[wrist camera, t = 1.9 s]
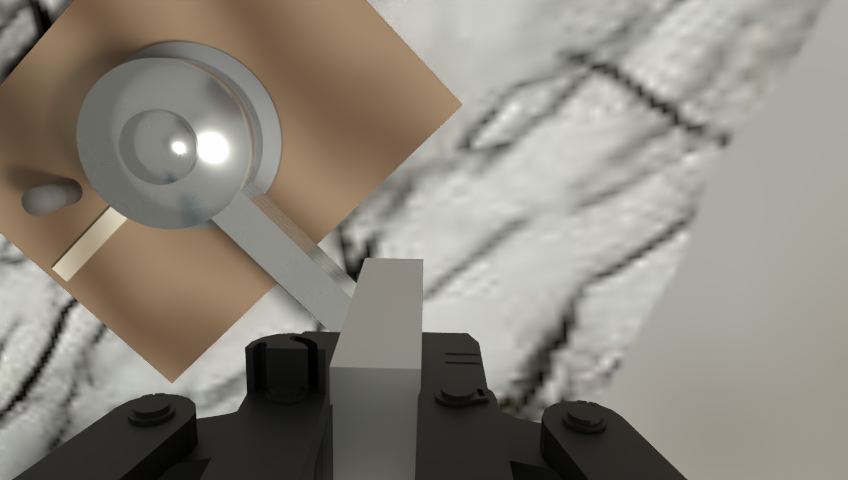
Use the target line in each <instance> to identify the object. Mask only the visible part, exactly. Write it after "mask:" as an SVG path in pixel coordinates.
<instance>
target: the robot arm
mask: <svg viewBox="0 0 848 480" xmlns="http://www.w3.org/2000/svg"><path fill="white" fill-rule="evenodd" d="M422 300H423V259H386V258H365V261H364V264H363V267H362V270H361V273H360V276H359V279H358V282H357V285H356V288H355V291H354V294H353V297H352V300H351V303H350V306H349V309H348V312H347V315H346V318H345V321H344V324H343V327H342V330H341V332H312V331H305V332H303V333H302V334H296V333H288V334H276V335H271V336H266V337H262V338H260V339H257V340H255V341H252V342H251V343H250V344H249V345H248V346H246V347H245V354H246V376H247V395H246V397H245V398H244V400H243V402H242V404H241V406H240V407H239V409H238V411H237V412H234V413H230V414H225V415H220V416H213V417H206V418H199V419H196V406H195V403H194V402H193V401H191V400H190V399H189V398H186V397H183V396H179V395H172V394H165V393H156V394H155V395H153V394H149V395H144V396H142V397H141V398H137V399H134V400H131V401H128V402H126V403H124V404H122V405H120V406H118V407H116V408H115V409H113V410H112V411H111V412H109V413H108V414H106V415H105V416H103V417H102V418H100V419H99V420H98V421H96V422H95V423H93V424H92V425H90V426H89V427H88V428H86V429H85V430H83V431H82V432H80V433H79V434H77V435H76V436H75V437H73V438H72V439H70V440H69V441H67V442H66V443H65V444H63V445H62V446H60V447H59V448H57V449H56V450H54V451H53V452H52V453H50V454H49V455H47V456H46V457H44V458H43V459H42V460H40V461H39V462H37V463H36V464H34V465H33V466H31V467H30V468H29V469H27V470H26V471H24V472H23V473H21V474H20V475H19V476H17V477H16V478H14V479H13V480H687V479H686V478H685V477H684V476H683V475H682V474H681V473H680V472H679V471H678V470H677V469H675V467H674V466H673V465H672V464H670V463H669V462H668V461H667V460H666V459H665V458H664V457H663V456H662V455H661V454H660V453H659V452H658V451H657V450H656V449H655V448H654V447H653V446H652V445H651V444H650V443H649V442H648V441H646V439H645V438H644V437H642V436H641V435H640V434H639V433H638V432H637V431H636V430H635V429H634V428H633V427H632V426H631V425H630V424H629V423H628V422H627V421H626V420H625V419H624V418H623V417H621V416H620V415H619V414H617V413H616V412H614V411H613V410H611V409H608V408H606V407H603V406H600V405H599V404H597V403H593V402H589V403H587V401H580V400H578V401H566V402H561V403H557V404H553V405H551V406H550V407H548V408H547V409H545V410H544V413H543V415H542V422H541V423H537V422H532V421H527V420H523V419H519V418H515V417H513V416H510V415H508V414H506V413H504V412H502V411H501V410H499V408H498V403H497V399H496V397H495V395H494V394H493V392H492V391H491V390H489V389H488V388H487V383H486V378H485V373H484V367H483V362H482V357H481V352H480V346H479V343H478V342H477V341H476V340H475V339H474V338H472V337H471V336H470V335H469V334H468V333H430V332H422Z"/></svg>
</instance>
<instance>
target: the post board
mask: <svg viewBox="0 0 848 480" xmlns="http://www.w3.org/2000/svg"><path fill="white" fill-rule="evenodd" d="M143 58H181V59H191V60H195V61H199V62H203V63H205V64H208V65H211V66H213V67H215V68H216V69H218V70H220V71H222V72H223V73H225V74H226V75H228V76H229V77H230V78H231V79H233V80H234V81H235V82H236V83H237V84H238V85H239V86H240V87H241V88H242V90H243V91H244V92H245V93H246V95H247V96H248V98H249V99H250V100H251V102H252V104H253V106H254V108H255V110H256V112H257V115H258V118H259V120H260V124H261V129H262V135H263V154H262V160H261V164H260V167H259V171H258V173H257V175H256V177H255V180H254V181H253V183H254V184H255V185H256V186H257V187H258V188H259V189H260V190H261V191H262V192H263V193H264V194H265V195H266V196H267V197H268V198H269V199H270V200H271V201H272V202H273V203H274V204H275V205H276V206H277V207H278V208H279V209H281V210H282V211H283V212H284V213H285V214H286V215H287V216H288V217H289V218H290V219H291V220H292V221H293V222H294V223H295V224H296V225H297V226H298V227H299V228H300V229H301V230H302V231H303V232H304V233H305V234H306V235H307V236H308V237H309V238H310V239H311V240H312V241H313V242H314V243H315V244H316V245H317V244H318V243H319V242H320V241H321V240H322V239H323V238H324V237H325V236H326V235H327V234H328V233H329V232H331V231H332V230H333V229H334V228H335V227H336V226H337V225H338V224H339V223H340V222H341V221H342V220H343V219H344V218H345V217H346V216H347V215H348V214H349V213H350V212H351V211H352V210H353V209H355V208H356V207H357V206H358V205H359V204H360V203H361V202H362V201H363V200H364V199H365V198H366V197H367V196H368V195H369V194H370V193H371V192H372V191H373V190H374V189H375V188H376V187H377V186H379V185H380V184H381V183H382V182H383V181H384V180H385V179H386V178H387V177H388V176H389V175H390V174H391V173H392V172H393V171H394V170H395V169H396V168H397V167H398V166H399V165H400V164H402V163H403V162H404V161H405V160H406V159H407V158H408V157H409V156H410V155H411V154H412V153H413V152H414V151H415V150H416V149H417V148H418V147H419V146H420V145H421V144H422V143H423V142H424V141H426V140H427V139H428V138H429V137H430V136H431V135H432V134H433V133H434V132H435V131H436V130H437V129H438V128H439V127H440V126H441V125H442V124H443V123H444V122H445V121H446V120H447V119H448V118H450V117H451V116H452V115H453V114H454V113H455V112H456V111H457V110H458V109H459V108H460V107H461V106H462V104H461V103H460V101H459V100H458V99H457V98H456V97H455V96H454V95H453V94H452V93H451V92H450V91H449V90H448V88H447V87H446V86H445V85H444V84H443V83H442V82H441V81H440V80H439V79H438V78H437V77H436V75H435V74H434V73H433V72H432V71H431V70H430V69H429V68H428V67H427V66H426V65H425V64H424V62H423V61H422V60H421V59H420V58H419V57H418V56H417V55H416V54H415V53H414V52H413V51H412V49H411V48H410V47H409V46H408V45H407V44H406V43H405V42H404V41H403V40H402V39H401V37H400V36H399V35H398V34H397V33H396V32H395V31H394V30H393V29H392V28H391V27H390V26H389V24H388V23H387V22H386V21H385V20H384V19H383V18H382V17H381V16H380V15H379V14H378V13H377V11H376V10H375V9H374V8H373V7H372V6H371V5H370V4H369V3H368V2H367V1H366V0H73V2H72V3H71V4H70V5H69V6H68V7H67V9H66V10H65V11H64V12H63V13H62V14H61V16H60V17H59V18H58V19H57V20H56V21H55V23H54V24H53V25H52V26H51V27H50V28H49V30H48V31H47V32H46V33H45V34H44V35H43V37H42V38H41V39H40V40H39V41H38V42H37V44H36V45H35V46H34V47H33V48H32V49H31V50H30V52H29V53H28V54H27V55H26V56H25V57H24V59H23V60H22V61H21V62H20V63H19V64H18V66H17V67H16V68H15V69H14V70H13V71H12V73H11V74H10V75H9V76H8V77H7V78H6V80H5V81H4V82H3V83H2V84H1V85H0V233H1V234H2V235H4V236H5V237H6V238H7V239H8V240H9V241H10V242H12V243H13V244H14V245H15V246H16V247H17V248H18V249H20V250H21V251H22V252H23V253H24V254H25V255H26V256H28V257H29V258H30V259H31V260H32V261H33V262H34V263H36V264H37V265H38V266H39V267H40V268H41V269H42V270H43V271H45V272H46V273H47V274H48V275H49V276H50V277H51V278H53V279H54V280H55V281H56V282H57V283H58V284H59V285H61V286H62V287H63V288H64V289H65V290H66V291H67V292H69V293H70V294H71V295H72V296H73V297H74V298H75V299H77V300H78V301H79V302H80V303H81V304H82V305H83V306H84V307H86V308H87V309H88V310H89V311H90V312H91V313H92V314H94V315H95V316H96V317H97V318H98V319H99V320H100V321H102V322H103V323H104V324H105V325H106V326H107V327H108V328H110V329H111V330H112V331H113V332H114V333H115V334H116V335H118V336H119V337H120V338H121V339H122V340H123V341H124V342H125V343H127V344H128V345H129V346H130V347H131V348H132V349H133V350H135V351H136V352H137V353H138V354H139V355H140V356H141V357H143V358H144V359H145V360H146V361H147V362H148V363H149V364H151V365H152V366H153V367H154V368H155V369H156V370H157V371H159V372H160V373H161V374H162V375H163V376H164V377H165V378H166V379H168V380H169V381H170V382H171V383H173V382H174V381H175V380H176V379H177V378H178V377H179V376H180V375H181V374H182V373H183V372H184V371H185V370H186V369H187V368H189V367H190V366H191V365H192V364H193V363H194V362H195V361H196V360H197V359H198V358H199V357H200V356H201V355H202V354H203V353H204V352H205V351H206V350H207V349H208V348H209V347H210V346H211V345H213V344H214V343H215V342H216V341H217V340H218V339H219V338H220V337H221V336H222V335H223V334H224V333H225V332H226V331H227V330H228V329H229V328H230V327H231V326H232V325H233V324H234V323H235V322H237V321H238V320H239V319H240V318H241V317H242V316H243V315H244V314H245V313H246V312H247V311H248V310H249V309H250V308H251V307H252V306H253V305H254V304H255V303H256V302H257V301H258V300H260V299H261V298H262V297H263V296H264V295H265V294H266V293H267V292H268V291H269V290H270V289H271V288H272V287H273V286H274V285H275V284H276V283H277V281H276V280H275V279H274V278H273V277H272V276H271V275H270V274H269V273H268V272H267V271H266V270H265V269H264V268H263V267H261V266H260V265H259V264H258V263H257V262H256V261H255V260H254V259H253V258H252V257H251V256H250V255H249V254H248V253H247V252H246V251H245V250H244V249H242V248H241V247H240V246H239V245H238V244H237V243H236V242H235V241H234V240H233V239H232V238H231V237H230V236H229V235H228V234H227V233H226V232H225V231H223V230H222V229H221V228H220V227H219V226H218V225H217V224H216V223H215V222H214V221H213V220H212V219H210V220H207V221H205V222H203V223H201V224H199V225H195V226H192V227H188V228H182V229H158V228H153V227H148V226H145V225H142V224H139V223H136V222H134V221H132V220H130V219H128V218H126V217H124V216H123V215H121V214H120V213H118V212H117V211H115V210H114V209H113V208H112V207H111V206H109V205H108V204H107V203H106V202H105V201H104V200H103V199H102V198H101V197H100V196H99V194H98V193H97V192H96V190H95V189H94V188H93V186H92V185H91V183H90V181H89V180H88V178H87V176H86V174H85V172H84V169H83V167H82V164H81V161H80V158H79V153H78V147H77V134H76V133H77V122H78V117H79V113H80V110H81V107H82V105H83V102H84V100H85V98H86V96H87V94H88V93H89V91H90V90H91V88H92V87H93V86H94V85H95V83H96V82H97V81H98V80H99V79H100V78H101V77H102V76H103V75H105V74H106V73H108V72H109V71H110V70H112V69H113V68H115V67H117V66H119V65H121V64H124V63H126V62H129V61H132V60H137V59H143Z"/></svg>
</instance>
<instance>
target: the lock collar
mask: <svg viewBox="0 0 848 480" xmlns="http://www.w3.org/2000/svg"><path fill="white" fill-rule="evenodd" d="M76 134H77V147H78V153H79V158H80V161H81V164H82V167H83V169H84V172H85V174H86V176H87V178H88V180H89V181H90V183H91V185H92V186H93V188H94V189H95V190H96V192H97V193H98V194H99V196H100V197H101V198H102V199H103V200H104V201H105V202H106V203H107V204H108V205H109V206H111V207H112V208H113V209H114V210H115V211H117V212H118V213H120V214H121V215H123V216H124V217H126V218H128V219H130V220H132V221H134V222H136V223H139V224H142V225H145V226H148V227H153V228H158V229H182V228H188V227H192V226H195V225H199V224H201V223H203V222H205V221H207V220H210V219H212V220H213V221H214V222H215V223H216V224H217V225H218V226H219V227H220V228H221V229H222V230H223V231H225V232H226V233H227V234H228V235H229V236H230V237H231V238H232V239H233V240H234V241H235V242H236V243H237V244H238V245H239V246H240V247H241V248H242V249H244V250H245V251H246V252H247V253H248V254H249V255H250V256H251V257H252V258H253V259H254V260H255V261H256V262H257V263H258V264H259V265H260V266H261V267H263V268H264V269H265V270H266V271H267V272H268V273H269V274H270V275H271V276H272V277H273V278H274V279H275V280H276V281H277V282H278V283H279V284H280V285H282V286H283V287H284V288H285V289H286V290H287V291H288V292H289V293H290V294H291V295H292V296H293V297H294V298H295V299H296V300H297V301H298V302H299V303H301V304H302V305H303V306H304V307H305V308H306V309H307V310H308V311H309V312H310V313H311V314H312V315H313V316H314V317H315V318H316V319H317V320H318V321H319V322H321V323H322V324H323V325H324V326H325V327H326V328H327V329H328V330H329V331H330V332H341V330H342V327H343V324H344V321H345V318H346V315H347V312H348V309H349V306H350V303H351V300H352V297H353V294H354V291H355V288H356V285H357V284H356V283H355V282H354V281H353V280H352V279H351V278H350V277H349V276H348V275H347V274H346V273H345V272H344V271H343V270H342V269H341V268H340V267H339V266H338V265H337V264H336V263H335V262H334V261H333V260H332V259H331V258H330V257H329V256H328V255H327V254H326V253H325V252H324V251H323V250H322V249H321V248H319V247H318V246H317V245H316V244H315V243H314V242H313V241H312V240H311V239H310V238H309V237H308V236H307V235H306V234H305V233H304V232H303V231H302V230H301V229H300V228H299V227H298V226H297V225H296V224H295V223H294V222H293V221H292V220H291V219H290V218H289V217H288V216H287V215H286V214H285V213H284V212H283V211H282V210H281V209H279V208H278V207H277V206H276V205H275V204H274V203H273V202H272V201H271V200H270V199H269V198H268V197H267V196H266V195H265V194H264V193H263V192H262V191H261V190H260V189H259V188H258V187H257V186H256V185H255V184H254V183H253V181H254V180H255V177H256V175H257V173H258V171H259V167H260V164H261V160H262V154H263V135H262V129H261V124H260V120H259V118H258V115H257V112H256V110H255V108H254V106H253V104H252V102H251V100H250V99H249V98H248V96H247V95H246V93H245V92H244V91H243V90H242V88H241V87H240V86H239V85H238V84H237V83H236V82H235V81H234V80H233V79H231V78H230V77H229V76H228V75H226V74H225V73H223V72H222V71H220V70H218V69H216V68H215V67H213V66H211V65H208V64H205V63H203V62H199V61H195V60H191V59H181V58H143V59H137V60H132V61H129V62H126V63H124V64H121V65H119V66H117V67H115V68H113V69H112V70H110V71H109V72H108V73H106V74H105V75H103V76H102V77H101V78H100V79H99V80H98V81H97V82H96V83H95V85H94V86H93V87H92V88H91V90H90V91H89V93H88V94H87V96H86V98H85V100H84V102H83V105H82V107H81V110H80V113H79V117H78V122H77V133H76Z"/></svg>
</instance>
